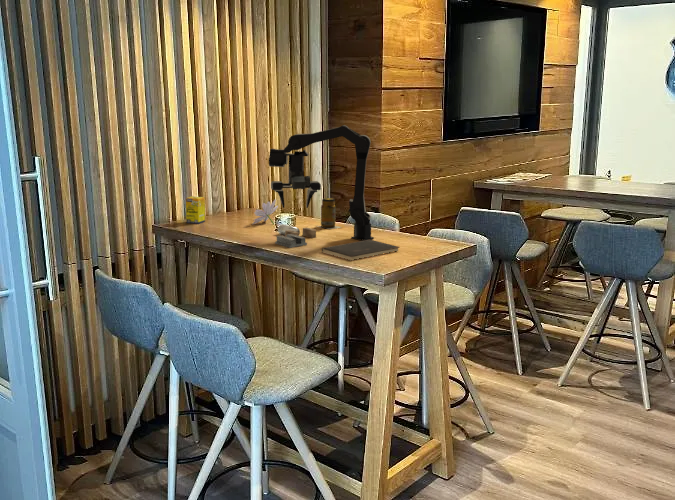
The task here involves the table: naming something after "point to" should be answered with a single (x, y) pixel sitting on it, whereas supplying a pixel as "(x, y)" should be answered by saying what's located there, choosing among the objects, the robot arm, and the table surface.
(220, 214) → the table surface
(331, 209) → the condiment
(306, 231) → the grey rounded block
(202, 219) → the supplement box
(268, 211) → the water lily
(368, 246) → the hardcover book
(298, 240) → the v block
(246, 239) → the table surface
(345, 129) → the robot arm
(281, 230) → the axle
